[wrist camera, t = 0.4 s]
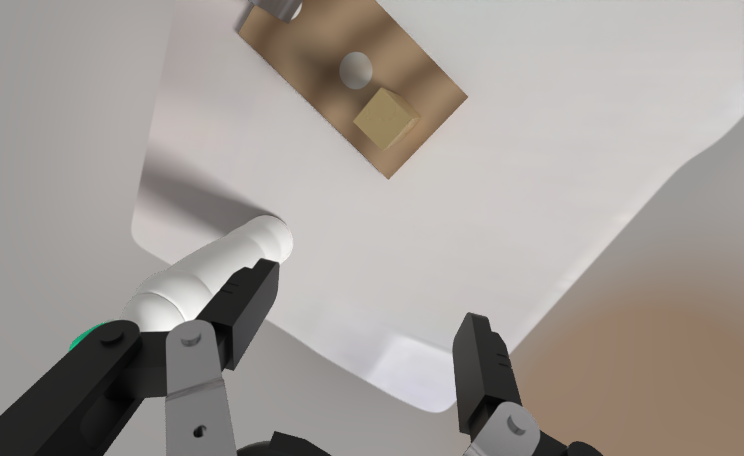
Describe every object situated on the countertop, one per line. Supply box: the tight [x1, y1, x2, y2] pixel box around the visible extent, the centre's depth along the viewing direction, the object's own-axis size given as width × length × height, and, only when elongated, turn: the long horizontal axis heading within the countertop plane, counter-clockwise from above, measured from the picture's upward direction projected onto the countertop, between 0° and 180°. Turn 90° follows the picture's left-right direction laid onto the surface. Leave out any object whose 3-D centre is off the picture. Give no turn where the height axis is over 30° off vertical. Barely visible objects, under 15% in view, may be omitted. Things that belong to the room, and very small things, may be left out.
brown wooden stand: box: [238, 0, 468, 180], centre depth 29 cm, size 23×12×14 cm, turn 47°
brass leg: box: [353, 87, 422, 151], centre depth 28 cm, size 3×3×13 cm
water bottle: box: [69, 215, 293, 351], centre depth 33 cm, size 7×7×25 cm
